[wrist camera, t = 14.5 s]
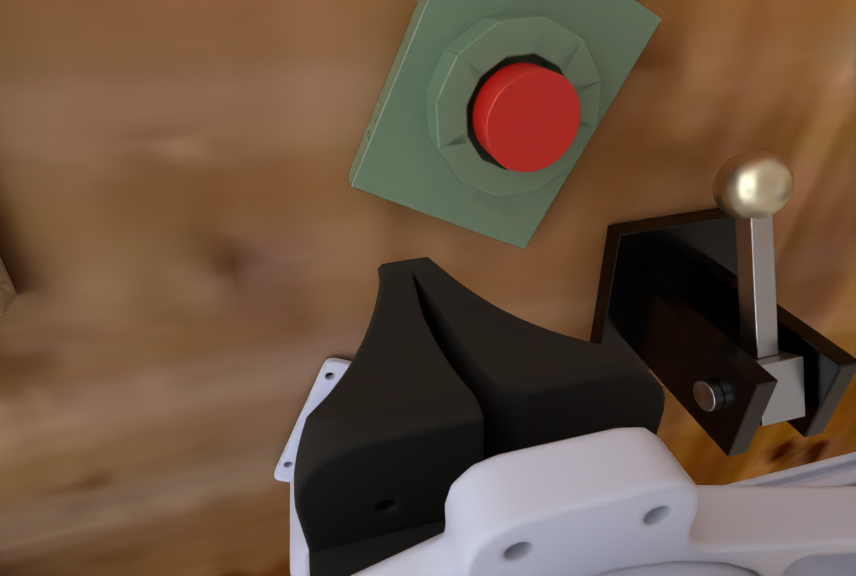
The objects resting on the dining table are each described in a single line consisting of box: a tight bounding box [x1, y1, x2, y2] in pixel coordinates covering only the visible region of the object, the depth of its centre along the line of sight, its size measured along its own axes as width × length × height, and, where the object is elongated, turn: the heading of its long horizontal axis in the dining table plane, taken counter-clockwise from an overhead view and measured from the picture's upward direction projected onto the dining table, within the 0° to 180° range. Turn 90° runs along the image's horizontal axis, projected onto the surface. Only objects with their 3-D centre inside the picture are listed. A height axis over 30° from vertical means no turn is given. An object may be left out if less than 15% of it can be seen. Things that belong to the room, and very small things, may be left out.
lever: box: [713, 151, 805, 426], centre depth 23 cm, size 12×3×3 cm, turn 1°
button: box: [472, 62, 580, 172], centre depth 19 cm, size 4×4×2 cm
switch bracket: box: [590, 208, 856, 456], centre depth 26 cm, size 10×8×10 cm
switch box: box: [348, 0, 661, 249], centre depth 21 cm, size 11×9×3 cm
